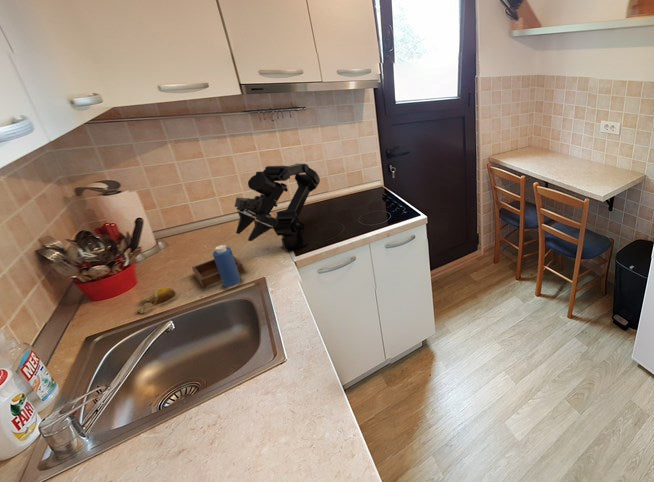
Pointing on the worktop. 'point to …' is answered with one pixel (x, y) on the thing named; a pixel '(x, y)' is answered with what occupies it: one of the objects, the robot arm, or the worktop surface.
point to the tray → (211, 272)
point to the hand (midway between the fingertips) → (243, 237)
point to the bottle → (226, 266)
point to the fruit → (159, 297)
